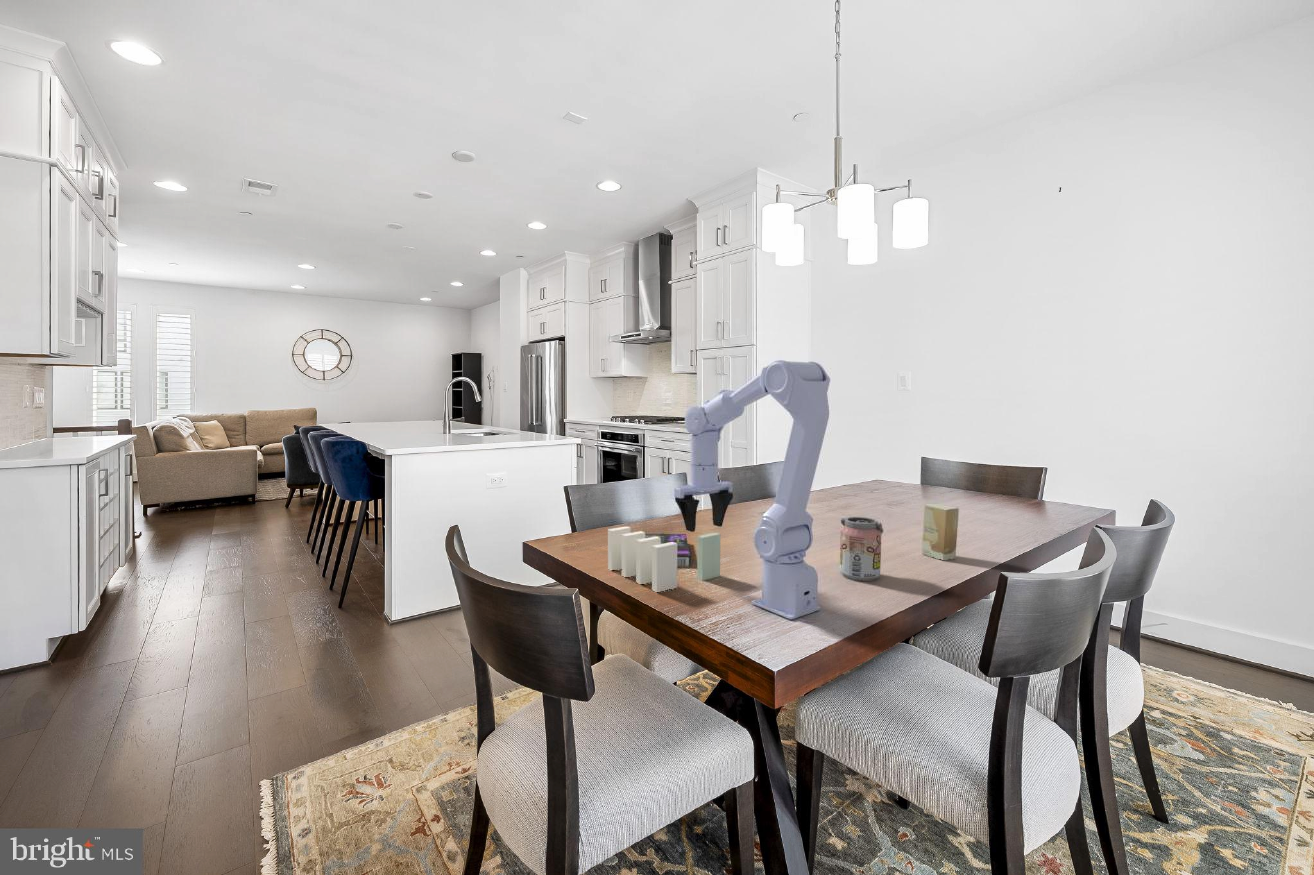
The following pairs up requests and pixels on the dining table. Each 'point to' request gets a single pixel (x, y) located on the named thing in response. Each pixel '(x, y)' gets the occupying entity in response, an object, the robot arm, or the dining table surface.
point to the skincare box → (940, 531)
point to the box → (682, 546)
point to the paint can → (860, 548)
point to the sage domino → (708, 556)
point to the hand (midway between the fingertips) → (704, 528)
